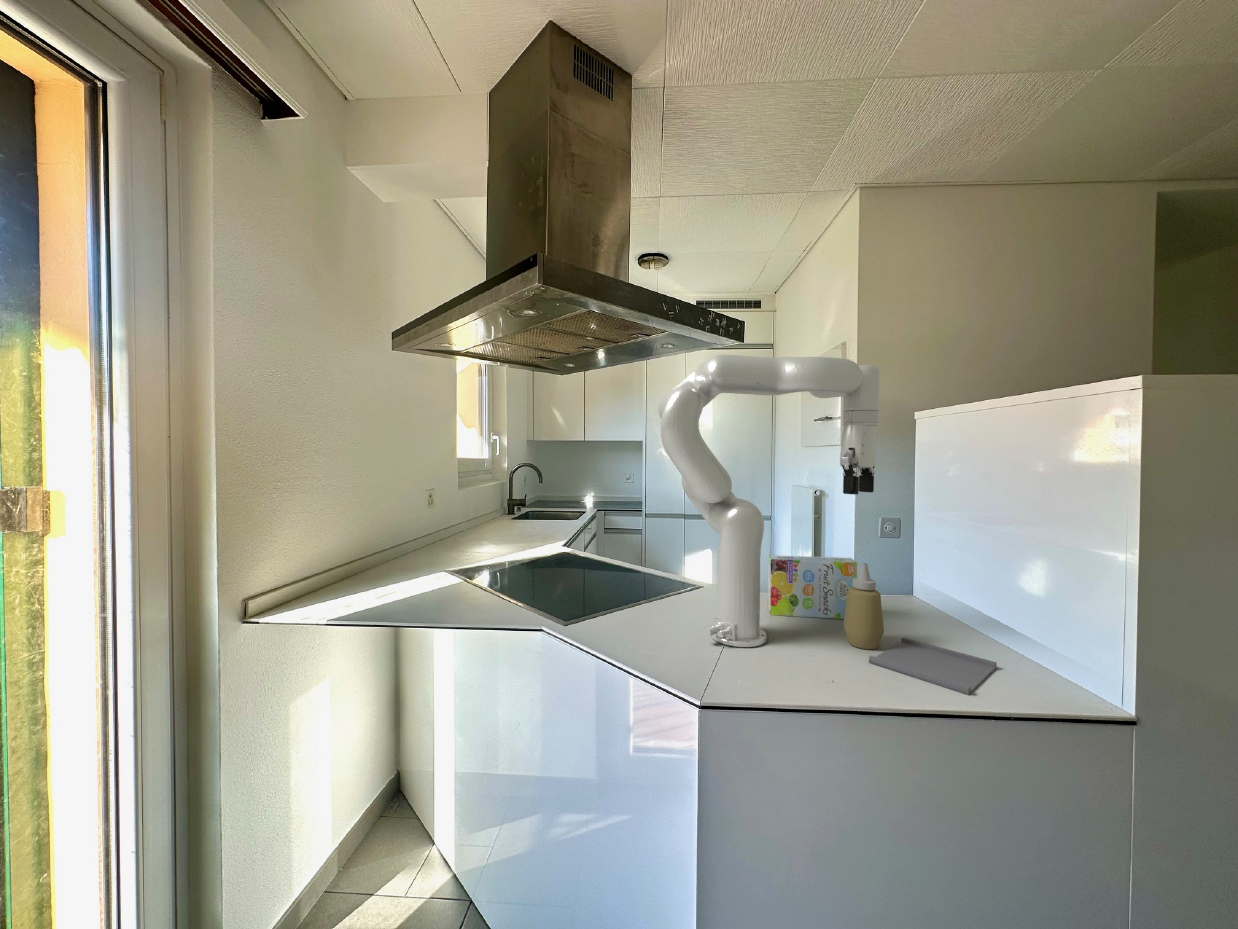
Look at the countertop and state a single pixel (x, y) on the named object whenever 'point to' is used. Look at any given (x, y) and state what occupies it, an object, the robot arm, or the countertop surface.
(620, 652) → the countertop surface
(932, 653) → the mat
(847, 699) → the countertop surface
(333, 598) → the countertop surface
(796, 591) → the snack box
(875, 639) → the squeeze bottle
